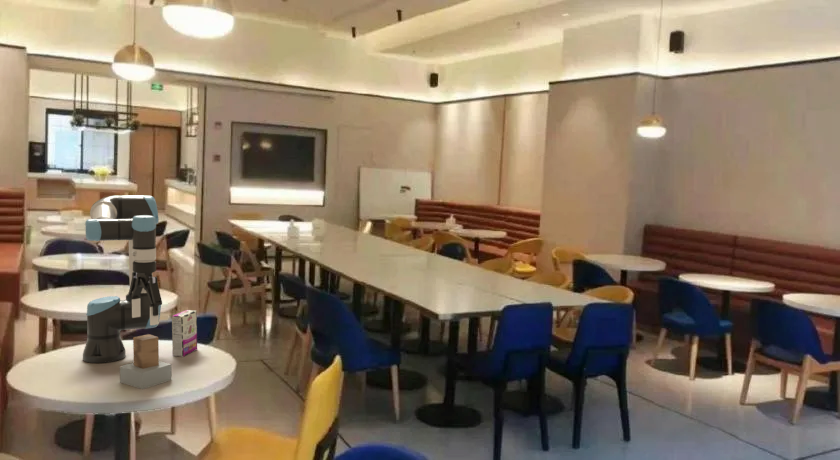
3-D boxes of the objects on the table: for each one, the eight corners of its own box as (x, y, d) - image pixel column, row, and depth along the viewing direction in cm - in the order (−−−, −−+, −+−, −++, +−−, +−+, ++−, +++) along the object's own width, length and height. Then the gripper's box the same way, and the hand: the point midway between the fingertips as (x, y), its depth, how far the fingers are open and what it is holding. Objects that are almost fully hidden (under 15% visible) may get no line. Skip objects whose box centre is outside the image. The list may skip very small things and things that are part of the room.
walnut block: (133, 365, 241) (133, 337, 240) (149, 361, 246) (149, 334, 245) (142, 368, 238) (142, 340, 237) (158, 365, 242) (158, 337, 241)
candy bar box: (186, 348, 283) (186, 309, 282) (197, 349, 282) (197, 310, 281) (171, 356, 273) (171, 315, 271) (183, 357, 272) (182, 316, 270)
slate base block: (120, 383, 240) (119, 366, 240) (149, 374, 250) (149, 358, 250) (142, 390, 234) (142, 372, 233) (171, 380, 244) (171, 364, 244)
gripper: (117, 256, 243) (118, 315, 246) (150, 266, 227) (151, 329, 229) (138, 254, 249) (139, 312, 251) (172, 264, 232) (172, 326, 235)
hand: (145, 320), depth 240 cm, fingers open, 13 cm apart
